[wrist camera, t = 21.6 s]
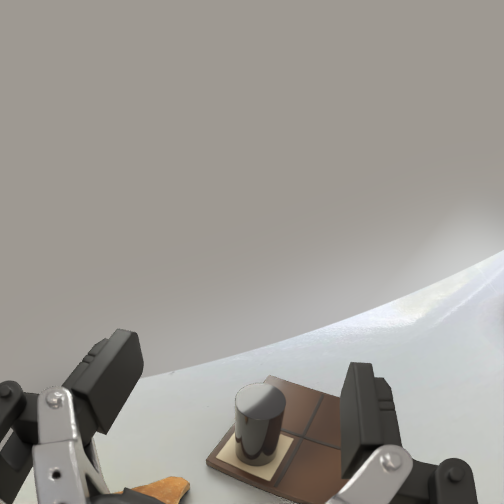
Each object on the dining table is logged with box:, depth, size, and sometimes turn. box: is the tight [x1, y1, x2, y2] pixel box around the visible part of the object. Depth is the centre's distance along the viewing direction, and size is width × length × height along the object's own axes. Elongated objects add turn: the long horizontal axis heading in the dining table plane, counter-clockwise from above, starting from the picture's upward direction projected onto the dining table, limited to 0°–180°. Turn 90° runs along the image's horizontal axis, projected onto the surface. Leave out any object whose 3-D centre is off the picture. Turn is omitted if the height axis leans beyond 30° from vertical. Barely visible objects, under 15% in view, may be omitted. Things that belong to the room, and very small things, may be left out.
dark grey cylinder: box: [235, 383, 286, 466], centre depth 29 cm, size 5×5×9 cm
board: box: [206, 375, 350, 504], centre depth 33 cm, size 16×16×1 cm
